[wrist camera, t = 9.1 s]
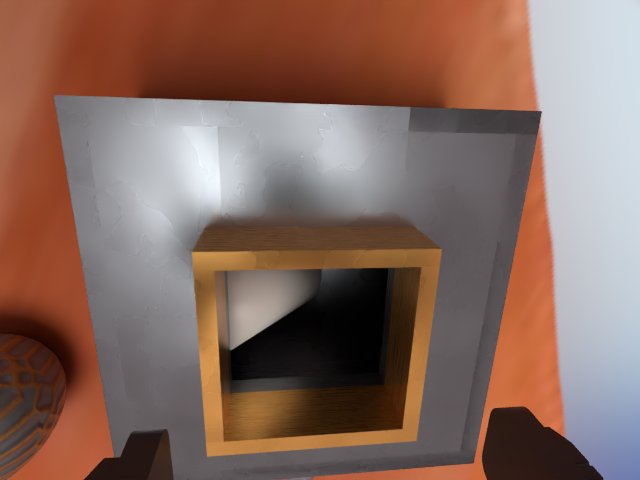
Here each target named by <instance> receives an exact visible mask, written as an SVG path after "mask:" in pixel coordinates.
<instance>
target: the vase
mask: <svg viewBox="0 0 640 480" xmlns="http://www.w3.org/2000/svg"><path fill="white" fill-rule="evenodd" d="M65 398H66V376H65V372H64V370H63V367H62V365H61V363H60V361H59V359H58V358H57V357H56V355H55V354H54V353H53V352H52V351H51V350H50V349H49V348H47V347H46V346H44V345H43V344H41V343H40V342H38V341H36V340H33V339H31V338H28V337H25V336H21V335H15V334H0V480H7V479H8V478H10V477H11V476H12V475H14V474H15V473H16V472H17V471H18V470H20V469H21V468H22V467H23V466H24V465H25V464H26V463H27V462H28V461H30V460H31V459H32V458H33V457H34V455H35V454H36V453H37V452H38V451H39V450H40V449H41V447H42V446H43V445H44V443H45V442H46V441H47V439H48V438H49V436H50V434H51V433H52V431H53V429H54V428H55V426H56V424H57V422H58V420H59V418H60V416H61V413H62V410H63V407H64V403H65Z"/></svg>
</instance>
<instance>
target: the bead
mask: <svg viewBox="0 0 640 480" xmlns="http://www.w3.org/2000/svg"><path fill="white" fill-rule="evenodd" d="M321 278H322V269H288V270H235V271H227V283H228V305H229V327H230V348H231V350H232V349H234V348H235V347H237V346H239V345H240V344H242V343H243V342H245V341H246V340H248V339H250V338H251V337H253V336H254V335H256V334H257V333H259V332H261V331H262V330H264V329H265V328H267V327H269V326H270V325H272V324H273V323H275V322H276V321H278V320H280V319H281V318H283V317H284V316H286V315H287V314H289V313H291V312H292V311H294V310H295V309H297V308H298V307H300V306H302V305H303V304H305V303H306V302H308V301H309V300H311V299H312V298H313V297H314V296H315V295H316V294H317V292H318V290H319V287H320V284H321Z"/></svg>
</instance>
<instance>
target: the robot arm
mask: <svg viewBox="0 0 640 480" xmlns="http://www.w3.org/2000/svg"><path fill="white" fill-rule="evenodd" d="M482 463H483V468H484V472H485V475H486V478H487V480H603V477H602V476H601V475H600V474H599V473H598V472H597V470H595V468H594V467H593V466H590V465H589V462H588V460H587V459H586V458H585V457H584V456H583V455H582V454H581V453H580V452H579V450H578V449H577V448H576V447H575V446H574V445H573V444H572V443H571V442H570V441H568V440H567V439H566V438H564V437H563V436H561V435H560V434H559V433H557V432H556V431H554V430H553V429H551V428H550V427H543V425H542V424H541V423H540V422H539V421H538V420H537V418H536V417H535V416H534V415H533V414H532V413H531V412H530V410H529V409H527V408H526V407H522V406H521V407H506V408H494V409H493V410H492V411H491V414H490V418H489V423H488V428H487V433H486V438H485V443H484V448H483V453H482ZM84 480H174V477H173V468H172V459H171V449H170V440H169V433H168V430H167V429H154V430H138V431H132V432H131V434H130V435H129V437H128V440H127V442H126V444H125V447H124V449H123V451H122V454H121V456H120V457H115V458H104V459H103V460H102V461H101V462H100V463H99V464H98V465H97V466H96V467H95V468H94V470H93V471H92V472H91V473H90V474H89V475H88V476H87V477H86V478H85V479H84Z"/></svg>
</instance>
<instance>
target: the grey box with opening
mask: <svg viewBox="0 0 640 480" xmlns="http://www.w3.org/2000/svg"><path fill="white" fill-rule="evenodd" d="M54 100H55V106H56V112H57V118H58V124H59V130H60V136H61V142H62V148H63V153H64V159H65V165H66V171H67V177H68V183H69V189H70V195H71V201H72V207H73V213H74V219H75V225H76V231H77V237H78V243H79V249H80V255H81V261H82V267H83V273H84V279H85V285H86V291H87V297H88V303H89V309H90V315H91V321H92V327H93V333H94V339H95V345H96V351H97V357H98V363H99V369H100V375H101V381H102V387H103V393H104V399H105V405H106V411H107V417H108V423H109V428H110V434H111V440H112V446H113V452H114V458H115V457H120V456H121V454H122V451H123V449H124V447H125V444H126V442H127V440H128V437H129V435H130V434H131V432H132V431H138V430H154V429H167V430H168V433H169V440H170V449H171V459H172V468H173V477H174V480H278V479H286V480H311V479H312V478H314V477H315V476H326V475H338V474H350V473H362V472H374V471H386V470H398V469H410V468H422V467H434V466H446V465H458V464H470V463H474V458H475V453H476V448H477V443H478V438H479V433H480V427H481V422H482V417H483V412H484V407H485V402H486V397H487V391H488V386H489V381H490V376H491V371H492V366H493V360H494V355H495V350H496V345H497V340H498V335H499V330H500V324H501V319H502V314H503V309H504V304H505V299H506V293H507V288H508V283H509V278H510V273H511V268H512V262H513V257H514V252H515V247H516V242H517V237H518V232H519V226H520V221H521V216H522V211H523V206H524V201H525V195H526V190H527V185H528V180H529V175H530V170H531V165H532V159H533V154H534V149H535V144H536V139H537V134H538V128H539V123H540V118H541V113H542V112H541V111H515V110H485V109H455V108H425V107H395V106H365V105H334V104H304V103H274V102H244V101H214V100H184V99H153V98H123V97H93V96H63V95H54ZM288 269H322V278H321V284H320V287H319V290H318V292H317V294H316V295H315V296H314V297H313V298H312V299H311V300H309V301H308V302H306V303H305V304H303V305H302V306H300V307H298V308H297V309H295V310H294V311H292V312H291V313H289V314H287V315H286V316H284V317H283V318H281V319H280V320H278V321H276V322H275V323H273V324H272V325H270V326H269V327H267V328H265V329H264V330H262V331H261V332H259V333H257V334H256V335H254V336H253V337H251V338H250V339H248V340H246V341H245V342H243V343H242V344H240V345H239V346H237V347H235V348H234V349H232V350H231V348H230V327H229V305H228V283H227V271H235V270H288Z"/></svg>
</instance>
